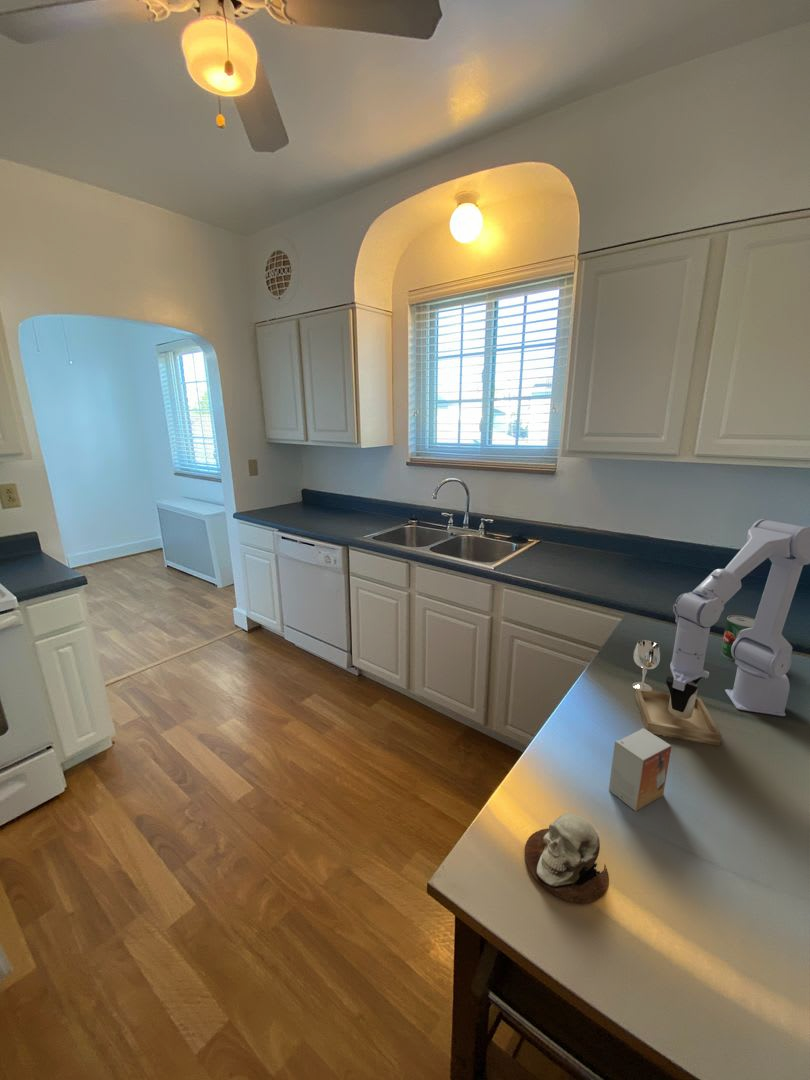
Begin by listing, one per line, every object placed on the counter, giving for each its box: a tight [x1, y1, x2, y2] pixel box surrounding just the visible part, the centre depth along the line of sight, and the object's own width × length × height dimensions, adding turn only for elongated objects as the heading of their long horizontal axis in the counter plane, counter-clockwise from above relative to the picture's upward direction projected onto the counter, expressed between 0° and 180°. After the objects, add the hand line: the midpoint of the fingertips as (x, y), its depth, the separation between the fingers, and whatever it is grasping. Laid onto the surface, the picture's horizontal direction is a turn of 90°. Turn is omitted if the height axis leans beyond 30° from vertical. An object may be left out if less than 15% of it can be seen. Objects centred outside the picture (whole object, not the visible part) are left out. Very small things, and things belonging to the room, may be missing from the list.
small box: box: [608, 727, 672, 812], centre depth 79 cm, size 8×6×10 cm
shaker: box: [668, 681, 699, 719], centre depth 97 cm, size 5×5×7 cm
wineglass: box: [631, 639, 661, 691], centre depth 111 cm, size 6×6×12 cm
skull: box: [524, 813, 610, 905], centre depth 67 cm, size 12×10×10 cm
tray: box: [634, 688, 722, 746], centre depth 99 cm, size 14×14×2 cm
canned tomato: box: [720, 614, 755, 662], centre depth 126 cm, size 8×8×11 cm
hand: (680, 704), depth 98 cm, fingers closed on shaker, 5 cm apart
